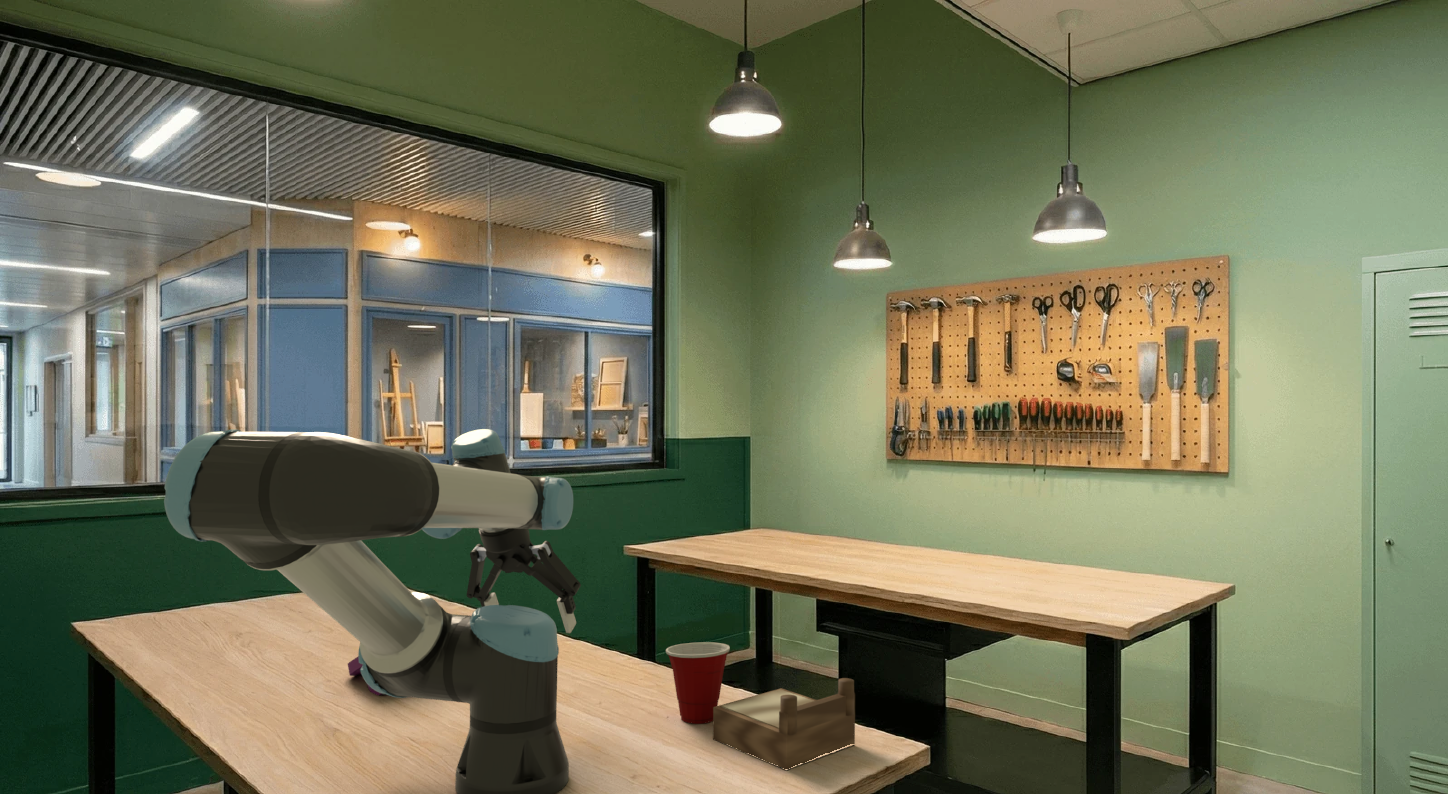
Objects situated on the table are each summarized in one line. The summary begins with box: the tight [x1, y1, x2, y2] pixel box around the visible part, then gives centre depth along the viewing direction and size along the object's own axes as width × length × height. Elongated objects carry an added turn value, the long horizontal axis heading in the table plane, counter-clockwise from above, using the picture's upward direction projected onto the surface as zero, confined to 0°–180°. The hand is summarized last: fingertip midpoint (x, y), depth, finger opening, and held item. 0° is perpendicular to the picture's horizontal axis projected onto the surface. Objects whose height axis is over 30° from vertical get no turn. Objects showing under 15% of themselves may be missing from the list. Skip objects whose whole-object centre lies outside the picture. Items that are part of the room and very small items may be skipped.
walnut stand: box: [712, 677, 856, 770], centre depth 137 cm, size 16×15×10 cm
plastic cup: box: [665, 641, 731, 725], centre depth 148 cm, size 11×11×12 cm
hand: (535, 628), depth 151 cm, fingers open, 13 cm apart
